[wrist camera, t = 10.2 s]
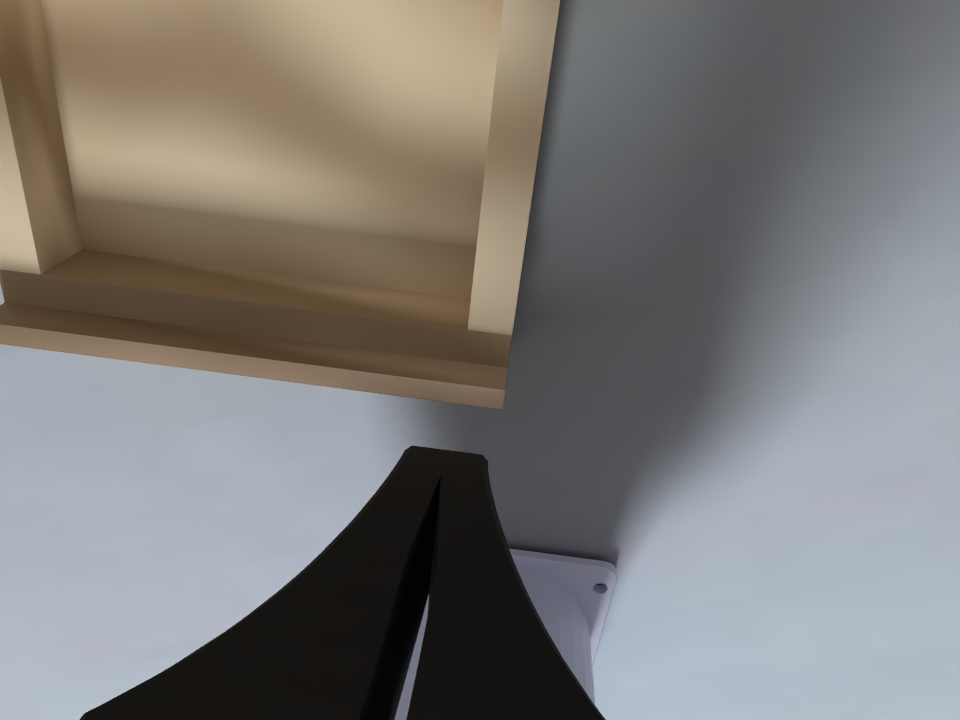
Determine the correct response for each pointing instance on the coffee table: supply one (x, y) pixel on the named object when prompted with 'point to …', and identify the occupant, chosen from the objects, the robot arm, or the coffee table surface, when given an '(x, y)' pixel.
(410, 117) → the box
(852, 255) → the coffee table surface
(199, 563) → the coffee table surface
